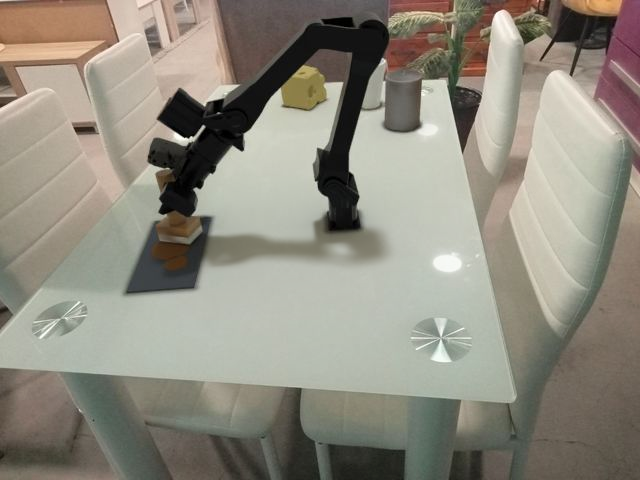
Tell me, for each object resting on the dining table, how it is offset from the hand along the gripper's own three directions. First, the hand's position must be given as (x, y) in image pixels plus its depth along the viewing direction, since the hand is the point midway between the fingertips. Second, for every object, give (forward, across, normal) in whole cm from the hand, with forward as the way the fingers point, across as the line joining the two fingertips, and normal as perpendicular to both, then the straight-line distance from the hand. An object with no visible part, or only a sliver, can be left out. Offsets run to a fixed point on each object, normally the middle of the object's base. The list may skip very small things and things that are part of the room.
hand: (162, 208), depth 93 cm
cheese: (-17, -67, +27) cm, 74 cm away
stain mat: (+4, +5, +6) cm, 9 cm away
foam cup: (-30, -60, +41) cm, 79 cm away
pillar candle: (-35, -44, +45) cm, 72 cm away
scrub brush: (+3, +1, +6) cm, 7 cm away
